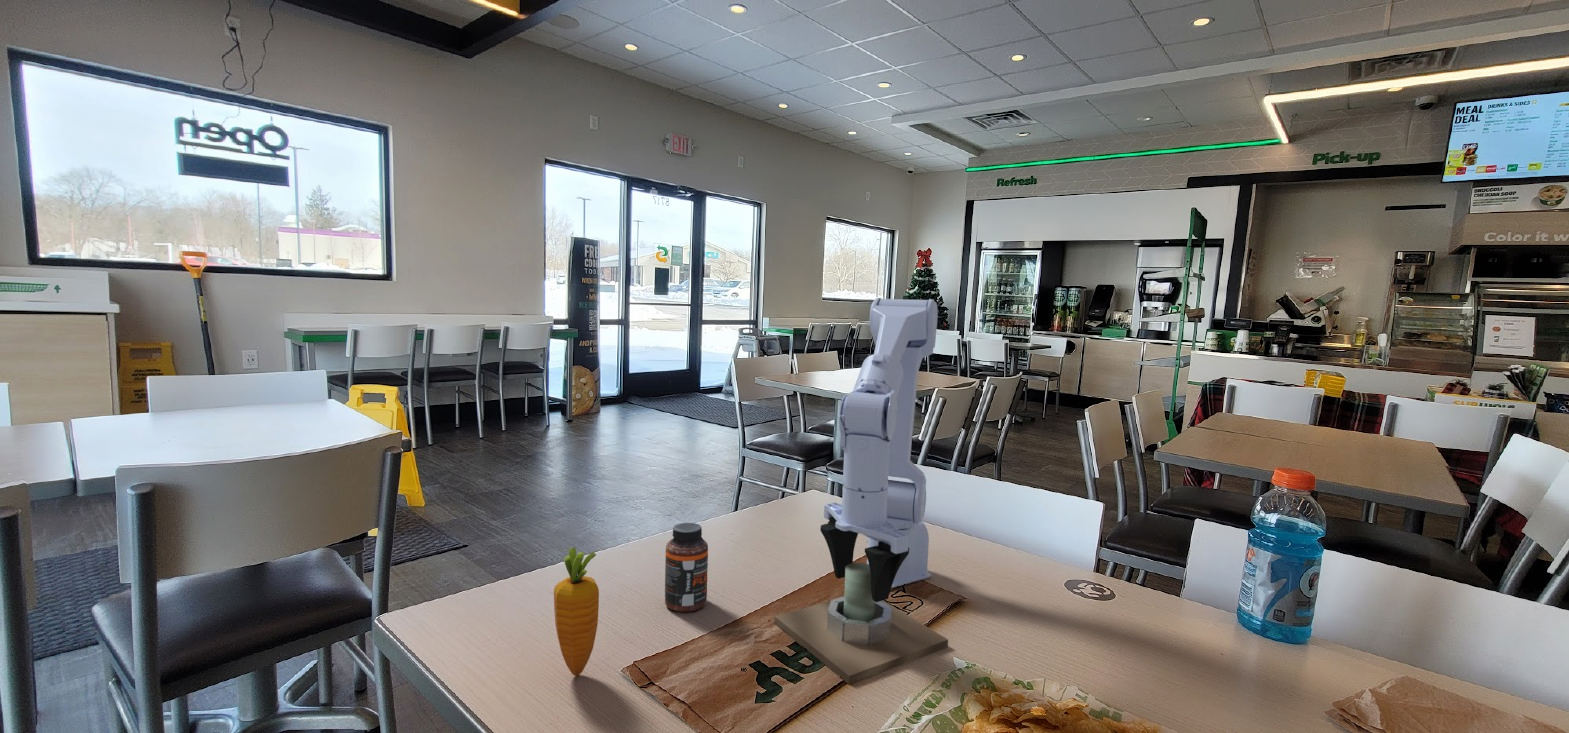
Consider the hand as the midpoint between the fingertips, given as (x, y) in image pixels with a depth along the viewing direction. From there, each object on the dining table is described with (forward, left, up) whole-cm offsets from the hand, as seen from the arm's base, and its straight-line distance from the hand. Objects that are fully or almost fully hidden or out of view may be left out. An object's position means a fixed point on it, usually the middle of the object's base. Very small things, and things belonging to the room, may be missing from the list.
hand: (860, 587), depth 85 cm
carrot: (+34, -9, -7) cm, 36 cm away
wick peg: (0, 0, -5) cm, 5 cm away
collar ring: (0, 0, -6) cm, 6 cm away
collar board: (0, 0, -6) cm, 6 cm away
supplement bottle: (+16, -19, -7) cm, 26 cm away
